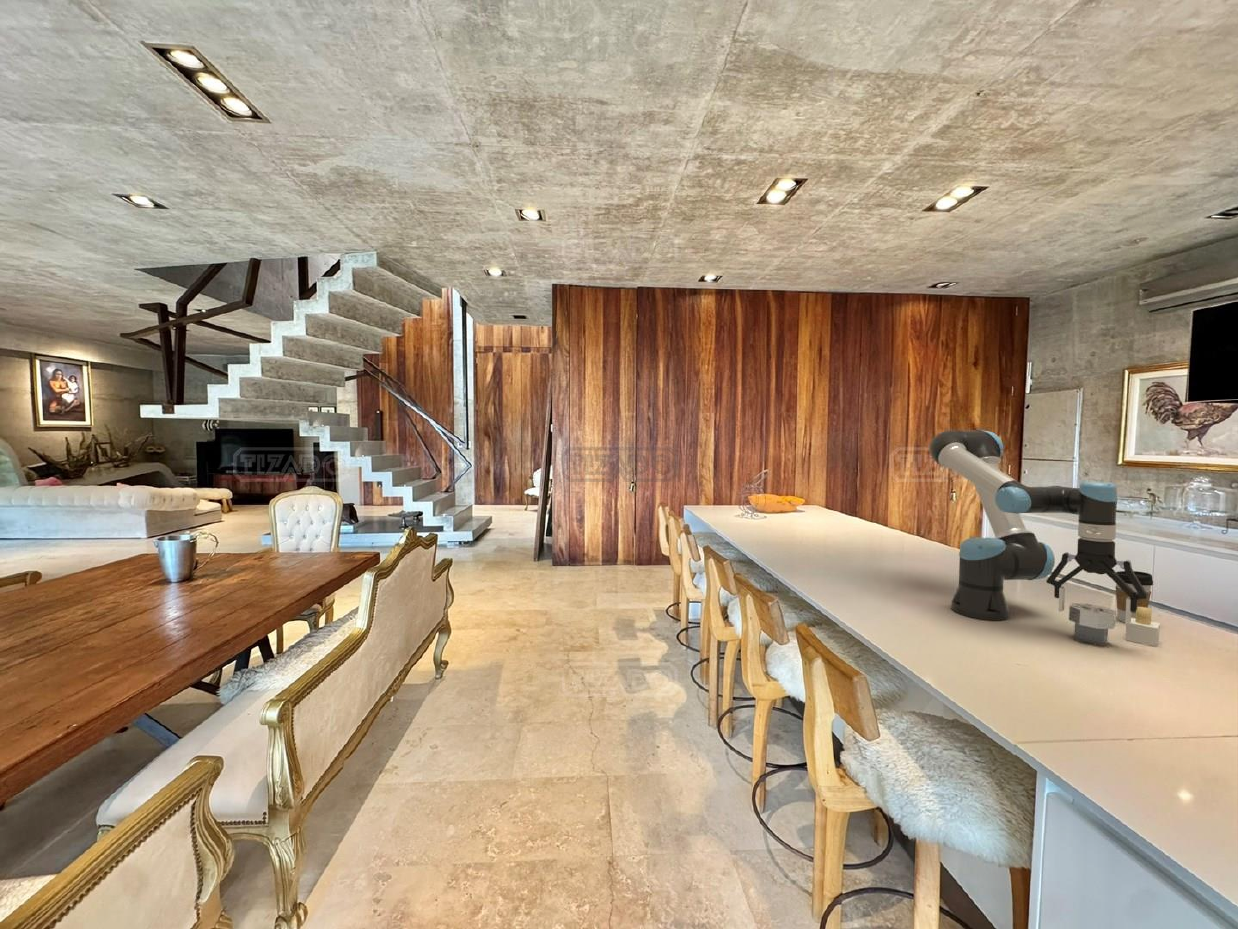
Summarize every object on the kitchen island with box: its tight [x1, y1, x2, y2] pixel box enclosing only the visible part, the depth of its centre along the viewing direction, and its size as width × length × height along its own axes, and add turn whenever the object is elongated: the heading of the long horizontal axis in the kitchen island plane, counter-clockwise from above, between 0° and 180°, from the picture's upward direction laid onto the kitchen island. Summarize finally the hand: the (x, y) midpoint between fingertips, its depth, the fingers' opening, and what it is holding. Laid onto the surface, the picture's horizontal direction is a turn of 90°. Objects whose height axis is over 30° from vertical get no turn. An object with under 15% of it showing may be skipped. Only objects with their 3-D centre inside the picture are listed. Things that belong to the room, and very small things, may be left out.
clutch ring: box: [1068, 602, 1117, 630], centre depth 143 cm, size 9×9×4 cm
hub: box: [1124, 607, 1161, 648], centre depth 143 cm, size 6×6×9 cm
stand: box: [1073, 606, 1109, 648], centre depth 143 cm, size 6×6×9 cm
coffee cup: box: [1115, 570, 1154, 624], centre depth 158 cm, size 8×8×15 cm
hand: (1093, 616), depth 142 cm, fingers open, 13 cm apart
